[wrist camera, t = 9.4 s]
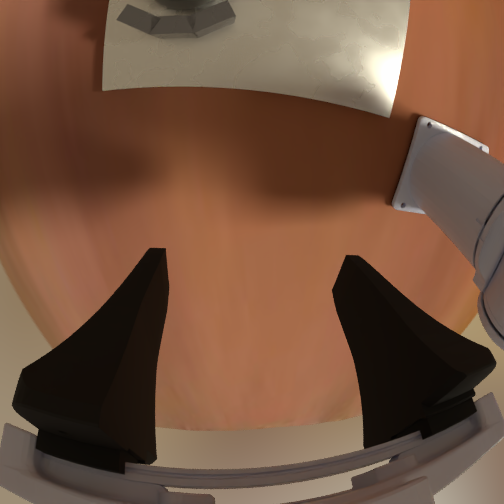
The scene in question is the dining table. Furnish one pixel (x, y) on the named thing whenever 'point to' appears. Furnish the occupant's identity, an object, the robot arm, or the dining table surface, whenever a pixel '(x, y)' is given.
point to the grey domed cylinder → (182, 3)
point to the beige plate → (262, 48)
